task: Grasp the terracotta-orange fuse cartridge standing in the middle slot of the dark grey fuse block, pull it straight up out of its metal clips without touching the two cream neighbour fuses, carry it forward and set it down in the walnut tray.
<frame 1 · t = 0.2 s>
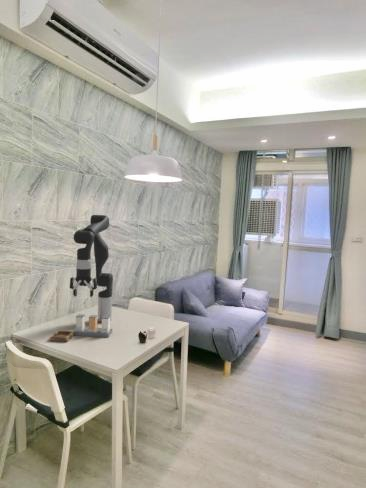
hand: (83, 296, 177), 28 cm above the table, fingers open, 8 cm apart
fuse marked: (92, 330, 198), point 2 cm above the table, touching fuse block
fuse block: (92, 333, 199), on the table
tray: (62, 338, 189), on the table
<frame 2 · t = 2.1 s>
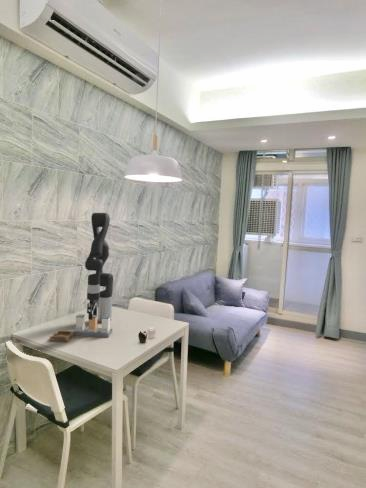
hand: (92, 317, 197), 10 cm above the table, fingers open, 8 cm apart
nothing on the table moved.
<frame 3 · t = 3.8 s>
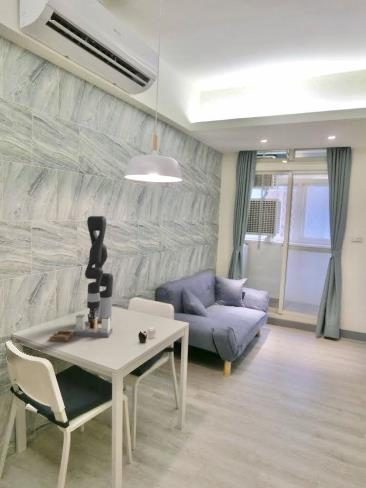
hand: (93, 326, 198), 4 cm above the table, fingers closed on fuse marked, 4 cm apart
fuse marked: (92, 330, 198), point 2 cm above the table, touching fuse block, gripper
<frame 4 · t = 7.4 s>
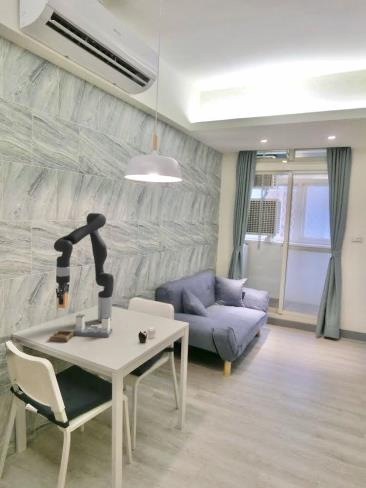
hand: (62, 303, 187), 21 cm above the table, fingers closed on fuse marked, 4 cm apart
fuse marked: (62, 307, 188), point 19 cm above the table, touching gripper
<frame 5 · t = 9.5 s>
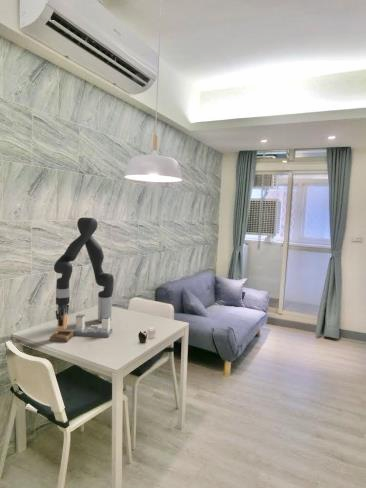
hand: (62, 324, 188), 8 cm above the table, fingers closed on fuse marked, 4 cm apart
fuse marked: (62, 328, 189), point 6 cm above the table, touching gripper
when the fingers open (5 cm above the table, at t = 11.1 s): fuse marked drops 2 cm, resting on tray.
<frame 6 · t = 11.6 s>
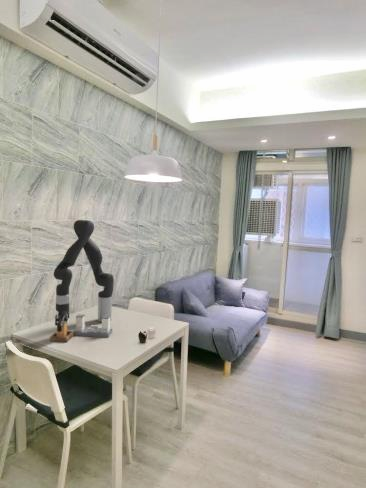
hand: (62, 329, 189), 6 cm above the table, fingers open, 8 cm apart
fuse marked: (62, 336, 189), point 1 cm above the table, touching tray
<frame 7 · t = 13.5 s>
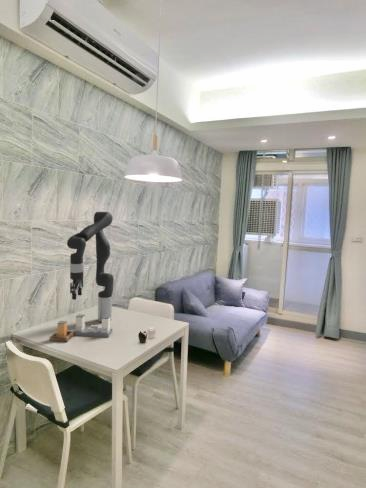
hand: (77, 297, 192), 23 cm above the table, fingers open, 8 cm apart
nothing on the table moved.
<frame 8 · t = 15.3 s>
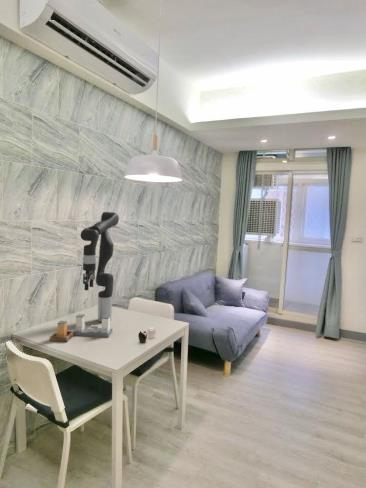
hand: (88, 288, 196), 28 cm above the table, fingers open, 8 cm apart
nothing on the table moved.
at the end: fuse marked inside the target area on the tray (0.0 cm from its centre), point 0.8 cm above the tray's base; the gripper is holding nothing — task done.
